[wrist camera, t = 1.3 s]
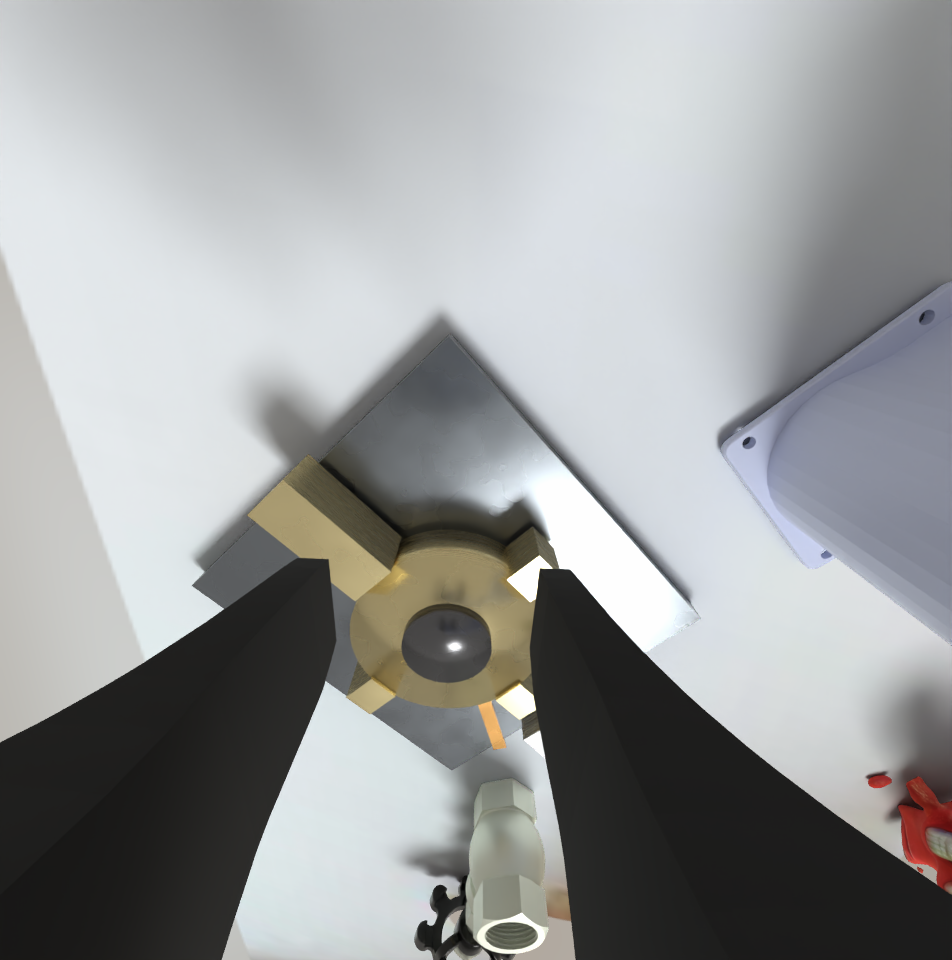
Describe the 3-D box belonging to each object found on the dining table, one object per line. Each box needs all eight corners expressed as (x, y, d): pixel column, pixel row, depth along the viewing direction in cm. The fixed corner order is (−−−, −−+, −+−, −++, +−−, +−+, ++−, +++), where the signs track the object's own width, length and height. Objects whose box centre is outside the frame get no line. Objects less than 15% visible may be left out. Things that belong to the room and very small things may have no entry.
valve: (459, 765, 27) (420, 875, 31) (454, 905, 21) (406, 1016, 25) (564, 782, 27) (511, 888, 32) (589, 923, 21) (519, 1029, 26)
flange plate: (450, 333, 17) (442, 347, 13) (696, 610, 22) (740, 676, 18) (204, 572, 21) (147, 633, 17) (458, 757, 26) (455, 834, 23)
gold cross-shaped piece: (618, 613, 20) (636, 657, 18) (446, 724, 23) (442, 774, 21) (386, 377, 16) (370, 392, 14) (212, 549, 19) (174, 586, 17)
